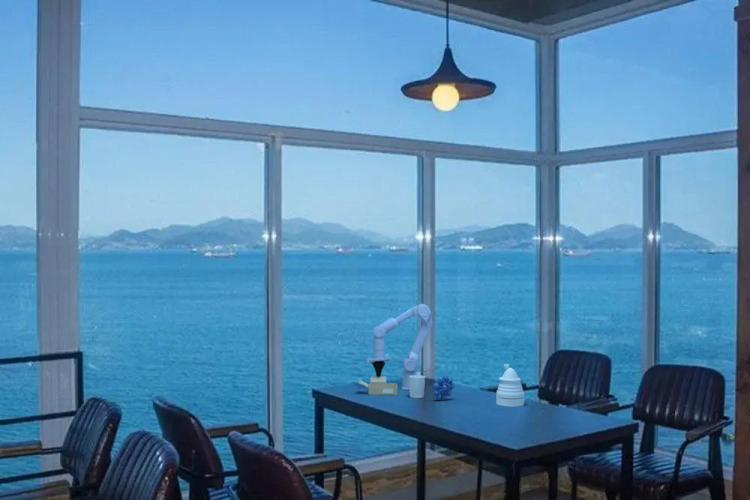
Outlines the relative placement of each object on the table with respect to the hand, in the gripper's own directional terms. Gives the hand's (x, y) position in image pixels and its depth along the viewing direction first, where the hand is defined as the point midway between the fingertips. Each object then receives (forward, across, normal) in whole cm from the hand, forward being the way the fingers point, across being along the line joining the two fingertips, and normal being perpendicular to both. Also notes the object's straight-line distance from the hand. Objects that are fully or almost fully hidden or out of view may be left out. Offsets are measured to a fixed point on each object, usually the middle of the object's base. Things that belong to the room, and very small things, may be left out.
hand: (378, 376), depth 396 cm
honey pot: (+7, +32, -64) cm, 72 cm away
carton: (+6, -4, -11) cm, 13 cm away
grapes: (+7, +10, -41) cm, 43 cm away
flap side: (+3, -2, -4) cm, 5 cm away
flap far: (+3, -11, -9) cm, 15 cm away
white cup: (+7, +4, -29) cm, 30 cm away
